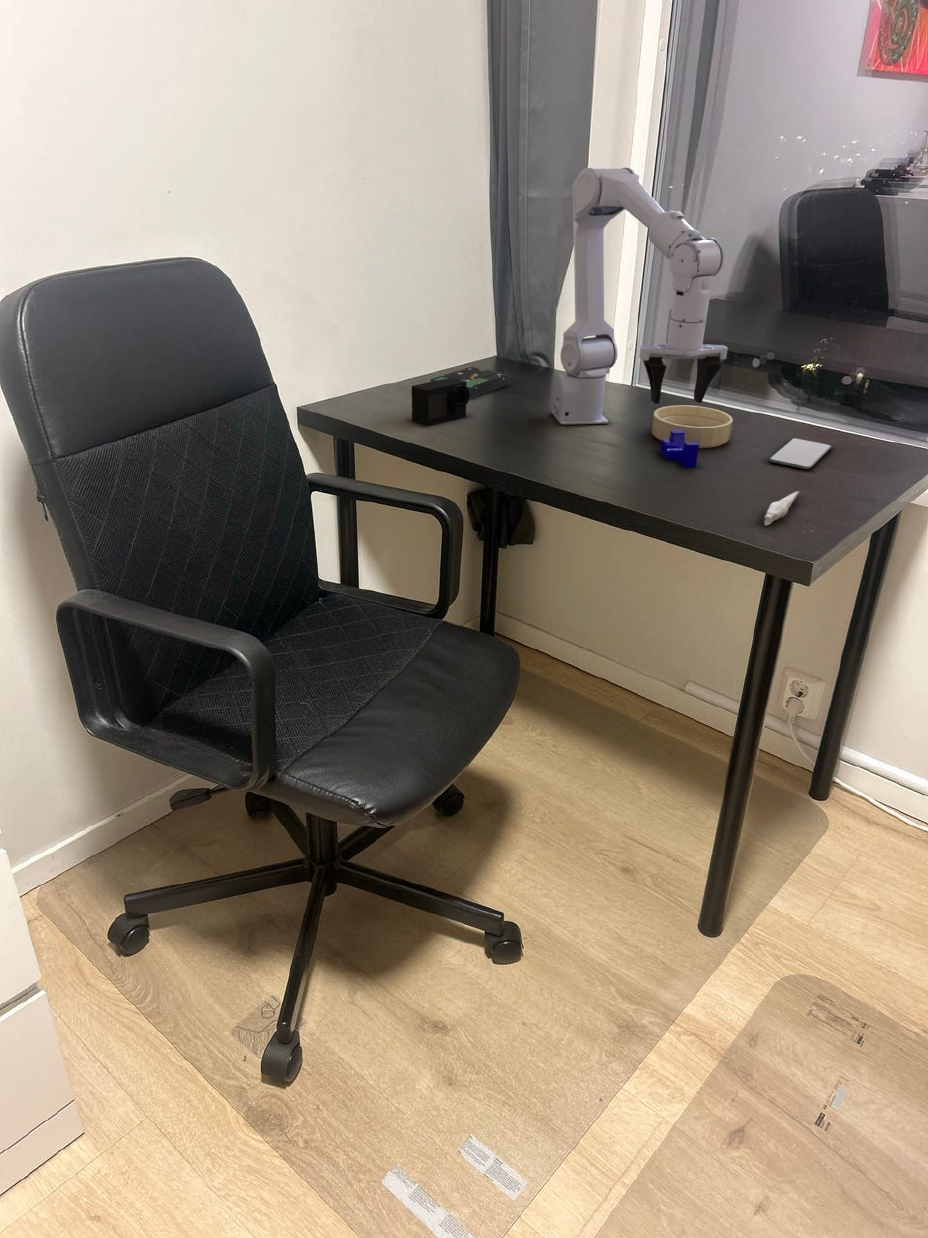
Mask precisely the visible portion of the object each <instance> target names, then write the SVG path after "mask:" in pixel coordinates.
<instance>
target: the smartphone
mask: <svg viewBox="0 0 928 1238" xmlns="http://www.w3.org/2000/svg"><path fill="white" fill-rule="evenodd" d="M831 448H832V444H829V443H823V442H819V441H813V440H809V439H802V438H798V437H792V439H791V440H789V441H788V442H786V444H784V445H783V446H782V447H781V448H780V449H779V450H777V452H775V453H774V454H773V455H772V456H771V457H769V461H770V462H771V463H774V464H779V465H784V466H790V467H792V468H793V467H794V468H799V469H802V470H803V469H804V470H810V469H811V468H812V467H813V466H814V465H816V463H817V462H818V461H819V460H820V459H821V458H822V457H823V456H825V454H826V453H827V452H829V451H830V450H831Z"/></svg>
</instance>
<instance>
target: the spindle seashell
mask: <svg viewBox="0 0 928 1238" xmlns="http://www.w3.org/2000/svg"><path fill="white" fill-rule="evenodd" d="M799 493H800V491H799V490H798V491H797V490H796V491H794V492H792V493H790V494H788V495H787V496H785V497H783V498H781V499H780V500H777V501H773V502H771V503H770V504H769V505H768V508H767V510H766V511H765V515H764V516H763V519H764V521H763V524H764V526H767V527H768V526H770V525H771V524H772V523H773V522H774V521H777V520H779V519H782V518H783V517H785V516H786V515H787V514H788V512H789V508H790V507H791V506H792V505H793V503H794V502H795V500H796V498H797V497H798V495H799Z"/></svg>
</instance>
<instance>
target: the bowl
mask: <svg viewBox="0 0 928 1238" xmlns="http://www.w3.org/2000/svg"><path fill="white" fill-rule="evenodd" d="M733 423H734V419H733V417H732V416H731V415H730V414H729V413H727V412H725V411H722V410H719V409H716V408H711V407H706V406H700V405H688V404H680V405H679V404H678V405H677V404H675V405H667V406H662V407H660V408H657V409H656V410H654V411H653V418H652V423H651V424H652V425H651V435H653V436H654V437H655V438H656V439H658V440H659V441H660V442H661V441H662V439H670V434H671V430H682V431H683V432H685V442H697V443H698V444H699V449H710V448H716V447H719V446H722V445H723V444H726V443H728V441H730V440H731V434H732V429H733Z"/></svg>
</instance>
